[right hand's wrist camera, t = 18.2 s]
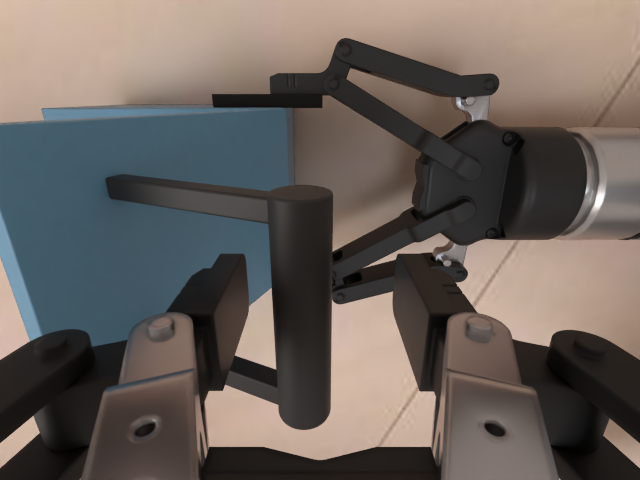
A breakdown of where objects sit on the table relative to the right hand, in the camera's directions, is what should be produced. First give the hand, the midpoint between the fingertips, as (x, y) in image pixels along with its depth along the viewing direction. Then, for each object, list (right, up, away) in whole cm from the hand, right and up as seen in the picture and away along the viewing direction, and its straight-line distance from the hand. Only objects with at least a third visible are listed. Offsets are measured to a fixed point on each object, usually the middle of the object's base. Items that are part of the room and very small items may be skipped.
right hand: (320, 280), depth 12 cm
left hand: (-6, +5, +13) cm, 15 cm away
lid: (-6, +2, +4) cm, 7 cm away
